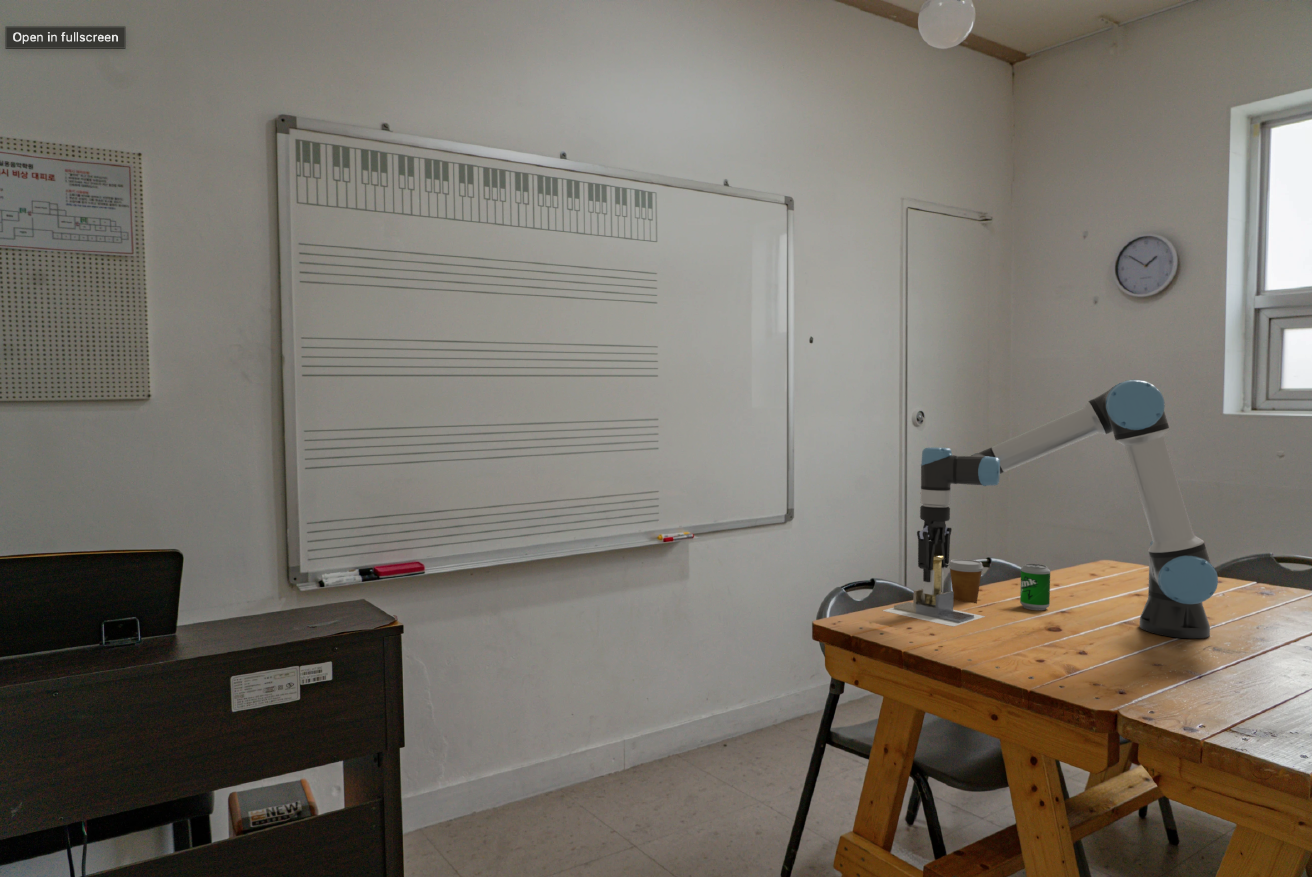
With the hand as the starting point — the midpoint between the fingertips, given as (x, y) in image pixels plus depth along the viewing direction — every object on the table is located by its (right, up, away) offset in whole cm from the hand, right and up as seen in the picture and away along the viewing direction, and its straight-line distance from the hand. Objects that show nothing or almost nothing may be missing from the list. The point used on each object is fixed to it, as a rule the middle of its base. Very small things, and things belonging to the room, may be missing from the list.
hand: (933, 592), depth 221 cm
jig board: (0, -7, 0) cm, 7 cm away
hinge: (0, -6, 0) cm, 6 cm away
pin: (0, -3, 0) cm, 3 cm away
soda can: (+33, -7, +12) cm, 36 cm away
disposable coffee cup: (+15, -7, +18) cm, 24 cm away
